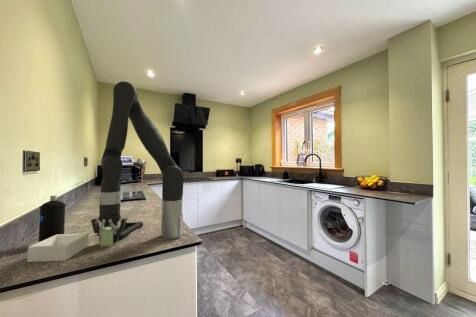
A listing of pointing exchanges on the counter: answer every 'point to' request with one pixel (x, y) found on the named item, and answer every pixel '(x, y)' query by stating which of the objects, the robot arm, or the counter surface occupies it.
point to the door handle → (130, 229)
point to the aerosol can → (51, 218)
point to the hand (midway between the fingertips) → (108, 242)
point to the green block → (106, 237)
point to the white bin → (57, 247)
